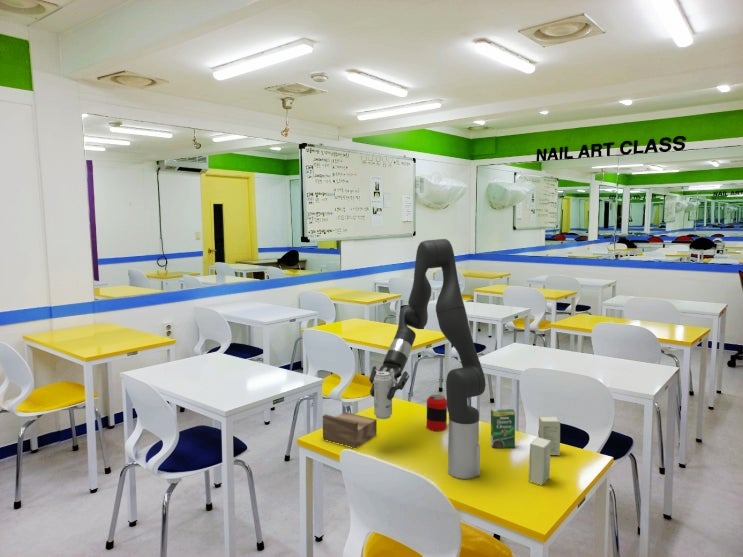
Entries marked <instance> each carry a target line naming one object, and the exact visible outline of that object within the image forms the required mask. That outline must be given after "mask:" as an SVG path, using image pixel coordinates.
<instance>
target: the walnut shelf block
mask: <svg viewBox="0 0 743 557" xmlns="http://www.w3.org/2000/svg"><path fill="white" fill-rule="evenodd" d="M377 419H378V418H372V417H367V416H364V415H360V414H355V413H351V412H347V411H344V412H343V413H341V414H338V415H336V416H333V415H329V414H327V413H326V414H324V415H322V440H323V439H324V440H323V441H325V440H328V441H331V442H330V443H332V442H335V443H339V444H343V445H347V446H350V447H352V448H351V449H353V448H356V449H357V447H358V446H359V447H360V445H361V446H363V445H364V444H365V443H367V442H369V441H370V440H372V439H373V438H375V437H376V436H377V434H378V433H377V431H378V430H377V429H378V428H377V426H378V424H377V422H378V421H377ZM328 441H327V442H328ZM335 443H334V444H335ZM339 444H338V445H339ZM350 447H349V448H350ZM359 447H358V448H359Z"/></svg>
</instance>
